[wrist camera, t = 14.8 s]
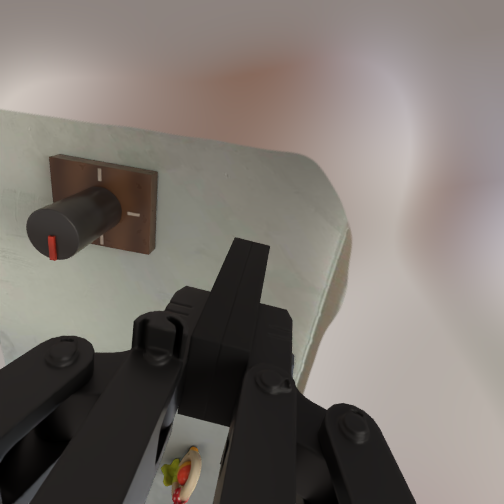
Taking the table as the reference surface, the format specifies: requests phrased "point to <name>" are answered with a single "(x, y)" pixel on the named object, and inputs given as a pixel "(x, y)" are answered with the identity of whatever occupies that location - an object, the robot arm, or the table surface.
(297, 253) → the table surface
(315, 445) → the robot arm
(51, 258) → the dial
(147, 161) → the table surface
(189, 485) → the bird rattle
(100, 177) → the knob panel
